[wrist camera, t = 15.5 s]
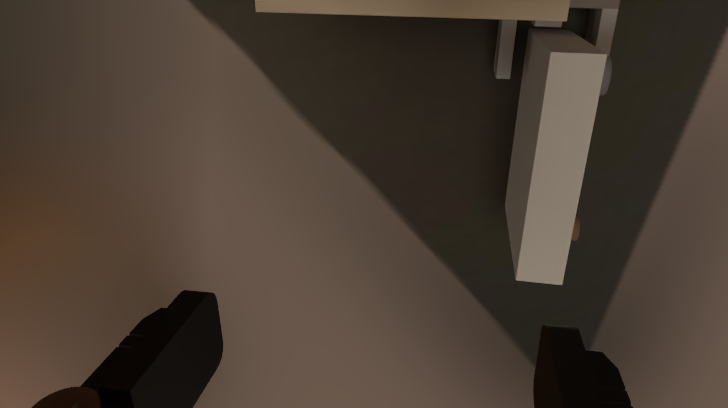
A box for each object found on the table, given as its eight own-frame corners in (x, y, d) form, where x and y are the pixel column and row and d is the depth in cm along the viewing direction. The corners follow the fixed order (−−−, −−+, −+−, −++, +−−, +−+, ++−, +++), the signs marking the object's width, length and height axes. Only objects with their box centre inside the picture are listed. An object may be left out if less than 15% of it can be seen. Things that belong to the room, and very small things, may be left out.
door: (528, 28, 33) (550, 52, 24) (589, 30, 32) (636, 55, 23) (504, 205, 38) (515, 280, 29) (557, 209, 37) (585, 287, 28)
